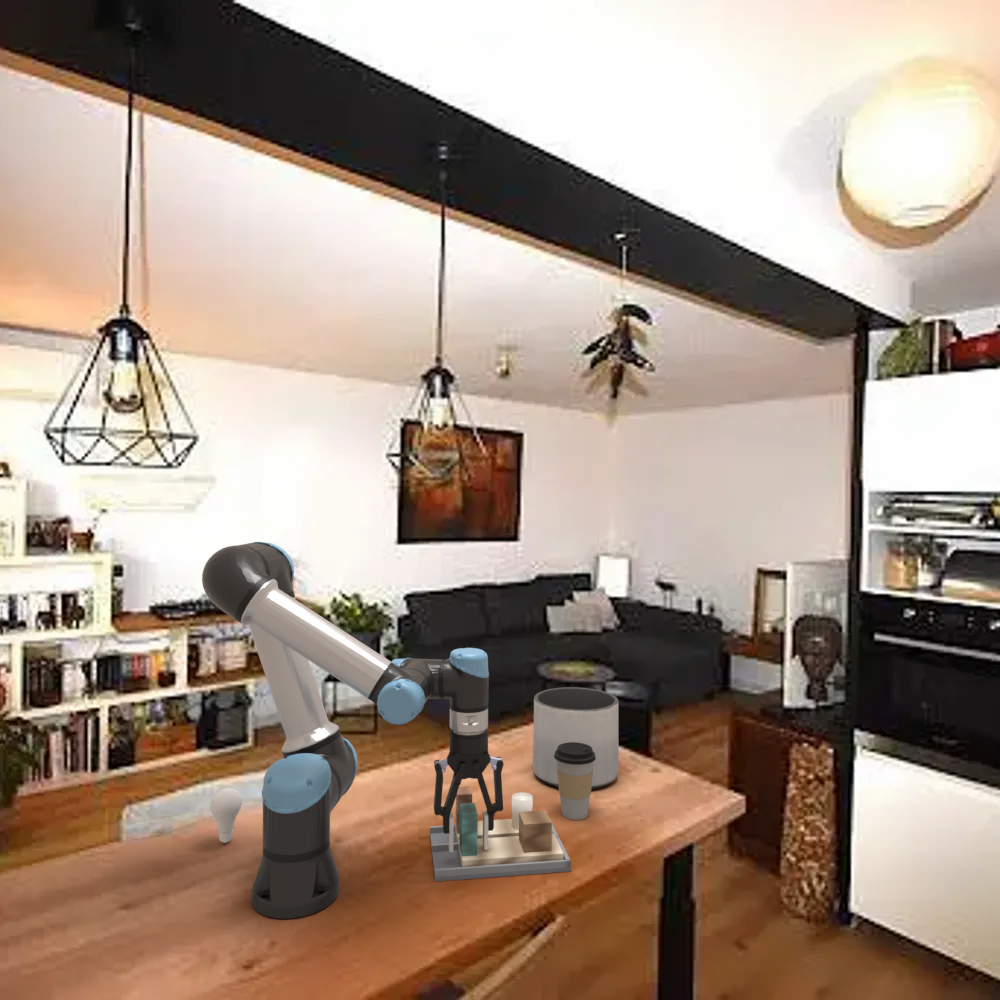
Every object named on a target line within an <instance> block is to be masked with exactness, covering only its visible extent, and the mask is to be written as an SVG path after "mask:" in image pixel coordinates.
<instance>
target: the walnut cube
mask: <svg viewBox="0 0 1000 1000" xmlns="http://www.w3.org/2000/svg"><path fill="white" fill-rule="evenodd" d="M552 824H553V821H552V820H551V818H550V817H549V814H548V812H547V810H545V809H544V810H533V811H527V812H519V841H520V844H521V846H522V849H523V852H524V853H528V852H543V851H552Z"/></svg>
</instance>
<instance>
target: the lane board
mask: <svg viewBox="0 0 1000 1000" xmlns="http://www.w3.org/2000/svg"><path fill="white" fill-rule="evenodd" d="M552 834H554V835H555V837H556V839H557V841H558V843H559V845H560V847H561V849H562V851H563V853H564V860H554V861H540V862H526V863H513V864H499V865H485V866H471V867H462V866H461V861H460V855H459V850H458V848H459V843H457V839H456V834H455V824H454V834H453V852H449V846H448V834H444V832H443V825H433V826H431V825H430V827H429V837H430V846H431V855H432V856H431V857H432V865H433V874H434V882H445V881H457V880H460V881H461V880H471V879H472V880H473V879H486V878H500V877H514V876H523V875H524V876H525V875H527V876H529V875H539V874H552V873H566V872H571V870H572V860H571V858H570V856H569V854H568V853H567V850H566V848H565V846H564V844H563V842H562V840H561V839H560V836H559V834H558V832H557V830H556V827H555V826H554V824H553V823H552Z"/></svg>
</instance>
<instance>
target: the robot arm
mask: <svg viewBox="0 0 1000 1000" xmlns="http://www.w3.org/2000/svg"><path fill="white" fill-rule="evenodd" d="M294 574H295V567H294V563H293V559H292V558H291V556H290V555H289V554H288V553H287V552H286V550H284V549H283V548H282V547H281V546H279V545H277V544H275V543H271V542H265V541H254V542H249V543H248V542H247V543H245V544H238V545H237V544H236V545H231V546H230V545H229V546H225V547H222V548H221V549H219V550H217V551H216V552H214V553H213V554H212V555H211V556H210V557H209V558H208V560H206V563H205V565H204V567H203V570H202V574H201V581H202V587H203V588H202V589H203V590H204V593H205V594H206V596H207V597H208V599H209V600H210V602H212V604H213V605H215V606H216V608H218V609H219V610H220V611H222V612H223V613H225V614H226V615H228V616H229V617H230V618H232V619H234V620H235V621H237V622H239V623H240V624H241V625H243V626H248V627H249V630H250V633H251V637H252V639H253V642H254V645H255V648H256V652H257V654H258V658H259V660H260V663H261V666H262V669H263V672H264V674H265V675H264V676H265V677H266V682H267V684H268V687H269V690H270V693H271V696H272V699H273V702H274V706H275V709H276V711H277V714H278V717H279V720H280V723H281V726H282V729H283V732H284V735H285V741H284V743H283V745H282V747H281V753H282V755H283V758H280V759H277V761H275V762H274V763H272V764H271V765H270V766H269V767H268V769H267V770H266V771H265V774H264V776H263V784H262V788H261V789H262V790H261V799H262V857H261V860H260V862H259V863H260V864H259V866H258V869H257V872H256V875H255V877H254V880H253V881H254V882H253V884H252V888H251V889H252V890H251V903H252V907H253V908H254V909H255V911H256V912H257V913H259V914H261V915H262V916H265V917H268V918H274V919H285V920H286V919H297V918H301V917H306V916H310V915H312V914H315V913H317V912H320V911H322V910H323V909H325V908H327V907H329V906H330V905H331V904H332V903H333V902H335V900H336V899H337V898H338V896H339V894H340V874H339V870H338V868H337V865H336V862H335V858H334V855H333V853H332V851H331V839H330V838H331V814H332V811H333V810H334V809H335V807H336V806H337V804H338V803H339V802H340V800H341V799H342V797H343V796H345V795H346V794H347V792H348V791H349V790H350V788H351V787H352V784H353V783H354V780H355V778H356V775H357V772H358V767H359V766H358V765H359V761H358V760H359V759H358V754H357V751H356V749H355V748H354V745H353V744H352V743H351V742H350V741H349V740H348V739H346V738H344V737H343V735H342V733H341V729H340V727H339V725H338V724H335V723H334V722H331V721H330V720H329V719H328V715H327V713H326V710H325V706H324V703H323V700H322V698H321V694H320V691H319V688H318V685H317V682H316V680H315V677H314V673H313V670H312V667H311V665H310V662H311V663H312V664H314V665H316V666H317V667H318V668H320V669H322V670H323V671H324V672H326V673H328V674H330V675H331V676H333V677H334V678H336V679H337V680H339V681H340V682H342V683H343V684H345V685H346V686H348V687H349V688H351V689H353V690H354V691H356V692H357V693H359V694H360V695H362V696H363V697H364V698H366V699H368V700H370V701H371V702H372V703H374V704H376V706H377V710H378V713H379V715H380V716H381V717H382V719H384V721H386V722H387V723H389V724H392V725H395V726H396V725H397V726H400V725H405V724H407V723H410V722H411V721H413V720H414V719H415V717H417V716H418V715H419V714H420V713H421V712H422V711H423V709H424V707H425V704H426V703H427V701H428V699H431V700H433V699H434V700H446V699H447V700H449V728H450V730H449V752H448V755H447V757H446V758H444V759H441V760H439V759H435V760H434V762H433V766H434V771H435V785H434V798H433V812H434V815H435V816H441V817H442V826H443V832H444V834H448V846H449V852H453V834H454V825H455V822H454V821H455V820H454V813H453V811H452V809H453V806H454V803H455V802H456V795H457V792H458V788H459V787H460V785H461V783H462V780H467V779H477V783H478V786H479V789H480V791H481V796H482V798H483V801H484V804H485V807H486V810H482V821H483V847H484V850H488V831H493V828H494V820H495V818H494V817H495V815H496V814H495V813H498V812H502V811H504V800H503V799H504V798H503V797H504V796H503V782H502V780H503V779H502V772H503V768H504V762H503V759H502V757H501V756H496V757H495V756H491V755H490V753H489V731H488V728H489V687H490V685H489V680H490V678H489V677H490V673H489V659H488V658H489V657H488V654H487V652H486V651H484V650H483V649H480V648H475V647H465V648H462V647H460V648H456V649H453V650H452V651H450V655H449V658H446V659H436V658H433V659H432V658H431V659H429V658H413V657H412V658H411V657H406V658H395V659H392V660H389V659H388V658H386V657H384V656H383V655H382V654H380V653H379V652H377V651H375V650H373V649H372V648H371V647H370V646H368V645H367V644H365V643H363V642H362V641H360V640H358V639H356V638H355V637H354V636H352V635H350V634H349V633H347V632H346V631H345V630H343V629H342V628H340V627H338V626H336V625H335V624H334V623H332V622H331V621H329V620H327V619H326V618H324V617H323V616H321V615H320V614H318V613H317V612H315V611H314V610H312V609H311V608H309V607H307V606H306V605H304V604H303V603H302V602H299V601H298V600H296V599H297V598H296V594H295V592H294V588H293V585H292V583H293V580H294V577H295V575H294ZM309 661H310V662H309ZM489 764H490V766H491V769H492V771H493V784H494V786H493V787H494V802H492V801H491V798H490V794H489V791H488V788H487V785H486V782H485V779H484V775H483V773H484V771H485V770H486V769H487V767H488V766H489ZM448 766H449V767H450V769H451V770H452V771H453V775H452V780H451V783H450V786H449V789H448V792H447V795H446V798H445V801H444V805H442V798H443V786H444V785H443V783H444V774H443V773H446V770H447V767H448Z"/></svg>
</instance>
